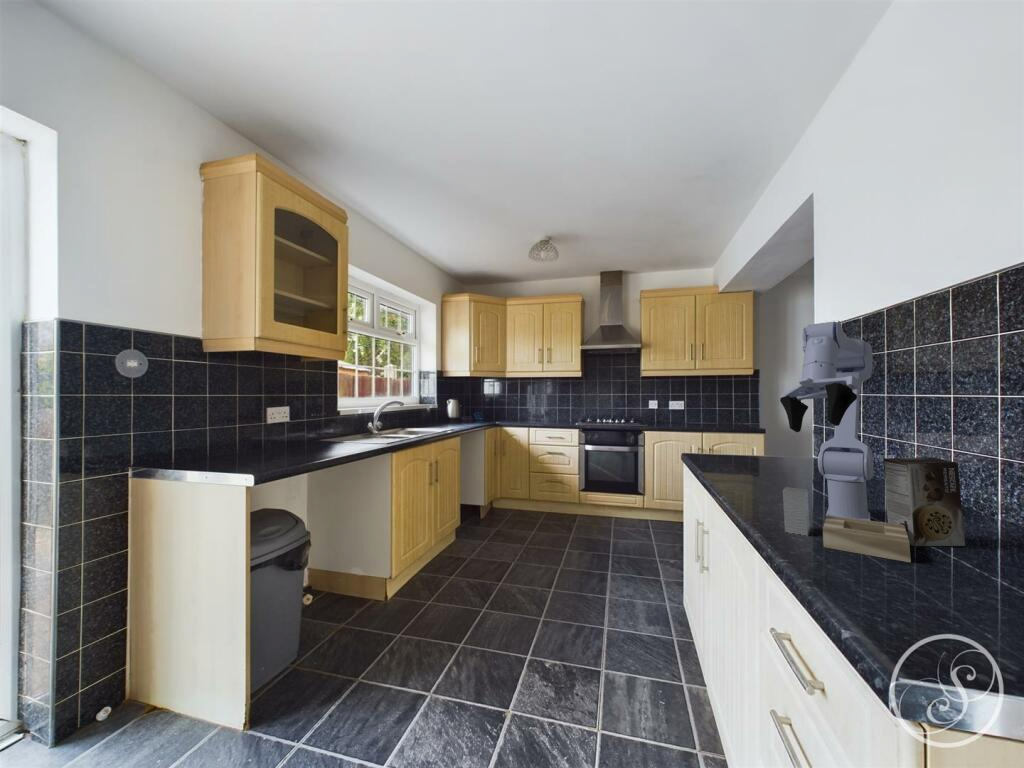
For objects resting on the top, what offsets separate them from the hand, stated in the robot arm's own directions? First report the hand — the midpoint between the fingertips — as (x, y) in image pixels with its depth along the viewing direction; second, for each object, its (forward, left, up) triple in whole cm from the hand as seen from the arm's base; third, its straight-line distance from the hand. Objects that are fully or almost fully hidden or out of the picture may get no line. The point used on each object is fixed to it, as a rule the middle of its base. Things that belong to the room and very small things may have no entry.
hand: (813, 426), depth 80 cm
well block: (-5, +7, -23) cm, 25 cm away
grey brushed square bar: (-7, -4, -23) cm, 25 cm away
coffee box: (-15, +16, -23) cm, 32 cm away
